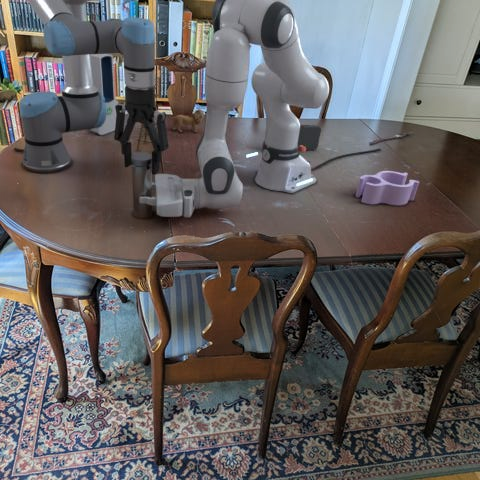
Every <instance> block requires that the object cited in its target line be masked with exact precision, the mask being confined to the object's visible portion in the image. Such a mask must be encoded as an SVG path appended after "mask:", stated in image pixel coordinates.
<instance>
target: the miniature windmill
mask: <svg viewBox="0 0 480 480" xmlns="http://www.w3.org/2000/svg"><path fill="white" fill-rule="evenodd" d="M157 76H158V70H157V68H155V86H153V87H154V88H155V91H156V90H157V87H158V84H157V83H158V82H159V81H158V77H157ZM159 96H160V94H158V93H155V99H156V98H157V97H159ZM156 103H157V101H155V104H154V106H155V108H156V111H158V108H157V104H156ZM155 118H156V117H155V115H154V116H153V120H154V122H155V121H156V120H155ZM148 123H149V122H148ZM154 125H155V128H156V130H157V122H155V124H154ZM143 133H144V134H143ZM147 136H149V135H148V132H147V129H146V128H145V127H144V125H143V124H141V126H140V131H139V133H138V139H137V147H136V151H139V149H140V144H141V143H144V144H147V143H148V144H152V143H151V141H147ZM143 138H144V140H142V139H143Z"/></svg>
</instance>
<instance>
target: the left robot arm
mask: <svg viewBox="0 0 480 480" xmlns="http://www.w3.org/2000/svg"><path fill="white" fill-rule="evenodd" d="M26 1H27V2H28V4H29V5H30V7H31V9H32V10H33V11H34V13H35V14H36V16H37V17H38V18H39V20H40V22H41V23H42V25H43V39H44V43H45V45H46V49H47V51H48V52H49V54H51V55H52V56H55V57H56V56H59V57H60V56H61V57H62V64H63V72H64V80H65V81H64V82H65V84H64V86H63V87H62V88H61V95H58V94H57V93H56V92H54V91H43V90H41V91H36V92H32V93H28V94H26V95H24V96H23V97H21V99H20V100H19V103H18V104H19V116H20V119H21V125H22V132H23V137H24V148H17V147H14V149H13V150H14V151H16V152H20V153H22V158H21V159H22V160H21V161H22V166H23V168H24V169H25V170H27V171H29V172H33V173H39V174H46V173H56V172H61V171H63V170H66V169H67V168H69V167H70V166H71V163H72V159H71V155H70V153H69V151H68V150H67V149H68V148H67V147H66V145H65V143H64V140H63V134H64V133H71V132H81V131H87V130H88V131H89V130H91V129H94V128H99V127H101V126H102V125H103V123H104V122H105V119H106V113H107V108H106V103H105V98H104V96H103V95H102V94H101V93H99V92H98V88H97V87H96V86H95V85H94V84H93V79H92V68H91V58H90V54H110V55H112V54H120V55H122V56H123V77H124V78H123V79H124V85H125V86H124V100H125V103H123V102H121V103H118V105H116V106H115V109H116V124H115V131H114V137H113V139H114V141H115V142H116V141H118V142H119V143H120V146H121V147H120V148H121V155H123V157H124V158H123V161H124V162H123V163H124V168H129V167H131V166H132V163H131V155H132V154H133V152H132V148H133V147H132V142H131V141H130V137H131V135H132V133H133V131H134V128H135V125H136V123H139V124H141V125H142V124H143V125H144V126H143V127H145V128H146V129H147V134H148V135H147V136H148V137H149V140H150V142H151V143H150V144H151V145H152V148H153V150H152V151H151V155H152V175H154V176H155V175H157V174H158V173H159V172H160V163H161V162H162V160H163V156H162V155H163V152H165V151H167V150H168V149H169V148H170V146H169V140H168V139H169V138H168V132H167V131H168V130H167V124H166V118H167V113H166V112H165V111H162V112H160V111H158V110H157V111H156V108H157V107H156V108H155V105H154V104H155V102H156V98H155V94H156V90H155V88H154V87H153V86H155V83H156V82H155V81H156V80H155V79H156V78H155V77H156V76H155V74H156V71H155V69H156V68H155V67H156V34H155V24H154V22H153V21H152V20H150V19H148V18H143V17H126V18H124V19H120V18H114V17H112V18H108V19H105V20H88V16H87V7H86V6H87V5H86V4H87V3H88V1H89V0H26ZM126 113H127V114H128V117H127V120H126ZM154 115H155V117H154V120H155V121H156V122H154V120H153V116H154ZM125 120H126V125H125ZM148 122H149V123H148ZM155 123H157V125H156V124H155ZM154 124H155V125H154ZM156 127H157V129H156ZM145 128H144V129H145Z"/></svg>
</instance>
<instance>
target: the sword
mask: <svg viewBox="0 0 480 480" xmlns="http://www.w3.org/2000/svg"><path fill="white" fill-rule="evenodd" d="M402 134H403V133H398V134H396V135H393V136H392V135H391V136H388V137H383V138H379V139H376V140H373V141H370V145H374V144H377V143H380V142H383V141H387V140H391V139H397V138H404V137H405V136H411V135H413V134H408V135H402Z"/></svg>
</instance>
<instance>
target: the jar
mask: <svg viewBox="0 0 480 480" xmlns="http://www.w3.org/2000/svg"><path fill="white" fill-rule="evenodd" d="M131 179H132V205H133V206H132V207H133V208H132V209H133V216H134V217H136V218H138V219H148V218H150V217H152V215H153V206H152V205H149V204H146V203H140V202H139V196H141V195H142V196H143V195H146V197H150V198H152V197H153V191H152V183H153V174H152V163H151V164H150V165H147V166H137V165H134V164H132V165H131Z"/></svg>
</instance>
